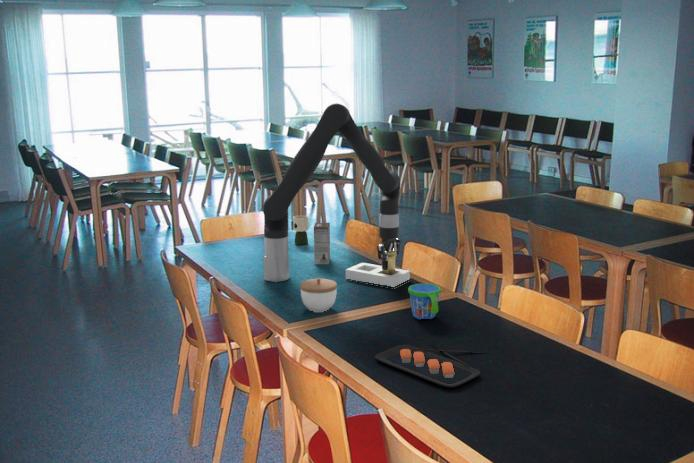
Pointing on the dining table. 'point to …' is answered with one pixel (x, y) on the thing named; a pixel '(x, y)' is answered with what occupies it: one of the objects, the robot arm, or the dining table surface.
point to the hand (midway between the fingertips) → (388, 267)
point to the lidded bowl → (318, 294)
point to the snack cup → (424, 300)
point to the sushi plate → (432, 363)
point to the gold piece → (390, 264)
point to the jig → (376, 275)
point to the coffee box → (322, 243)
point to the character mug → (300, 229)
